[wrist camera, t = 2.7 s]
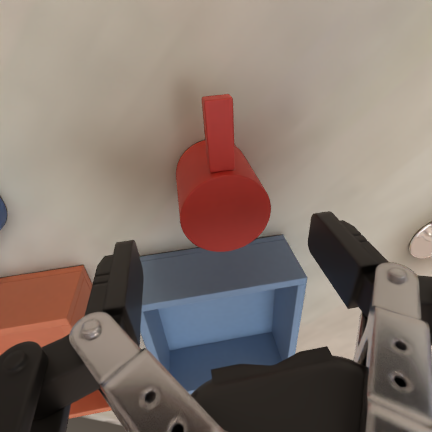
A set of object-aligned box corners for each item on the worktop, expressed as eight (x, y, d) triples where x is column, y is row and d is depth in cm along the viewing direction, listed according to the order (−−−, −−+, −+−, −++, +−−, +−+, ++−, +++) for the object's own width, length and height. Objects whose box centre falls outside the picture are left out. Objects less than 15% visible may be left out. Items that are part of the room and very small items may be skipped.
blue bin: (136, 256, 21) (131, 307, 17) (283, 234, 22) (307, 277, 18) (164, 349, 28) (164, 399, 24) (275, 328, 29) (291, 374, 25)
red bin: (-84, 290, 20) (-141, 353, 16) (83, 264, 21) (66, 318, 17) (3, 378, 27) (-23, 437, 23) (125, 356, 28) (119, 408, 24)
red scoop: (247, 199, 20) (269, 245, 16) (181, 208, 20) (186, 258, 15) (246, 75, 15) (277, 95, 11) (161, 84, 15) (160, 107, 11)
